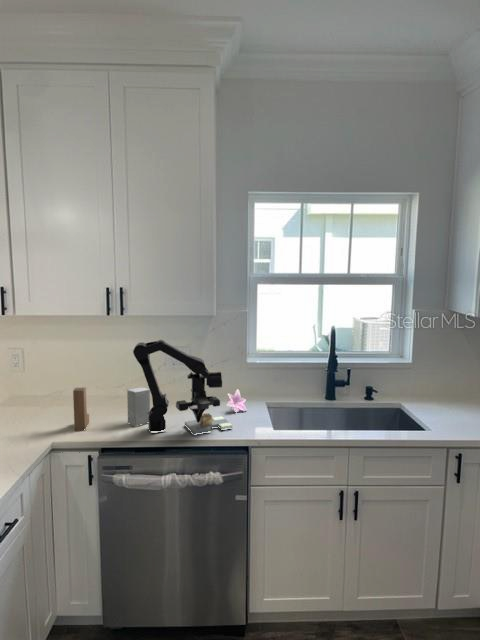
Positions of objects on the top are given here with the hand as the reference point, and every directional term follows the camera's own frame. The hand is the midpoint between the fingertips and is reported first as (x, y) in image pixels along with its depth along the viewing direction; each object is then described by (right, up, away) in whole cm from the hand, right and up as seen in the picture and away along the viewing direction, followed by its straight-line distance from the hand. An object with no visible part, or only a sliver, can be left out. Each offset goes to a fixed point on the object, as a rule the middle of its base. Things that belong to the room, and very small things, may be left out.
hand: (198, 422), depth 191 cm
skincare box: (-28, -2, +7) cm, 28 cm away
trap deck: (+4, -3, +3) cm, 6 cm away
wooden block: (-51, -3, +1) cm, 51 cm away
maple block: (+3, -1, +2) cm, 4 cm away
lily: (+17, -1, +25) cm, 30 cm away
